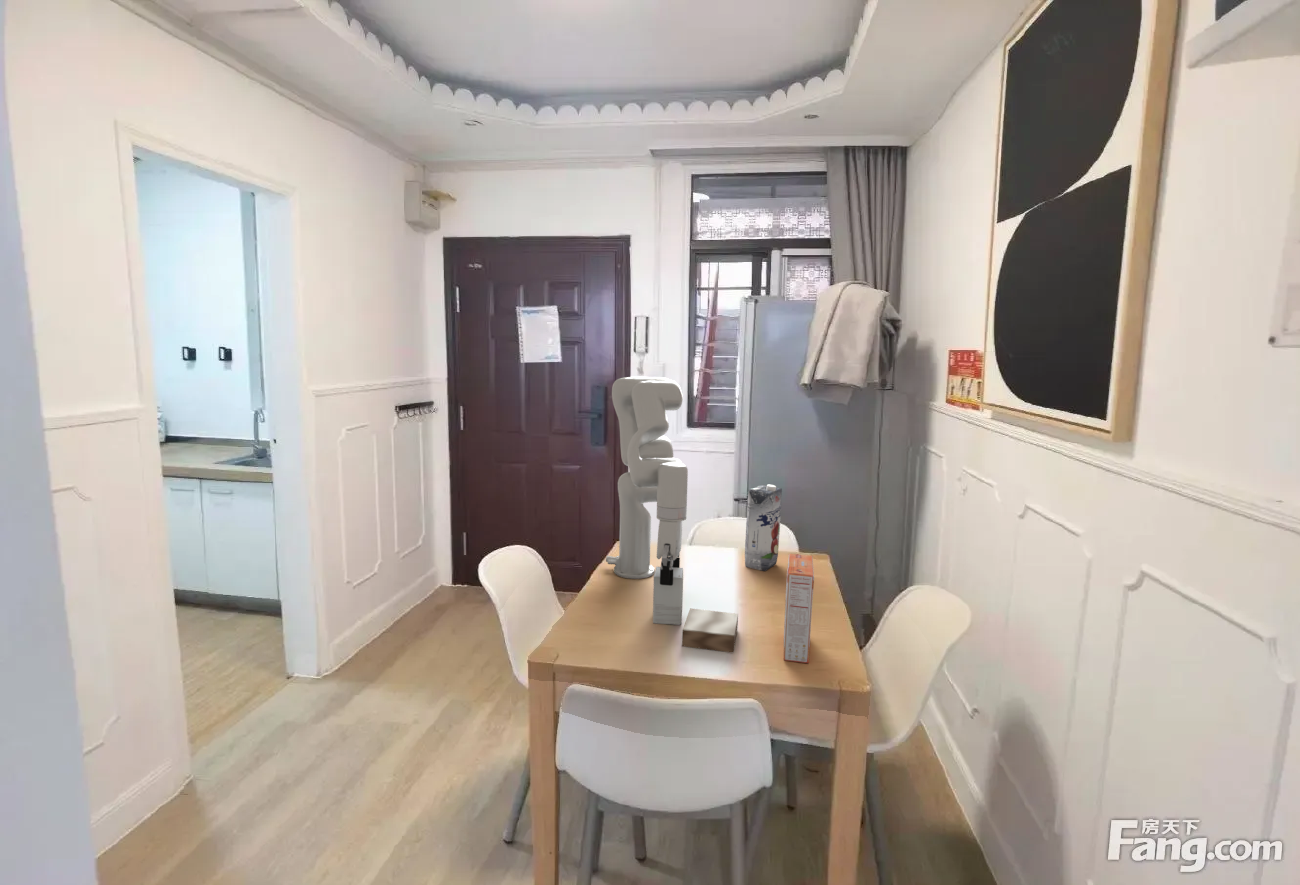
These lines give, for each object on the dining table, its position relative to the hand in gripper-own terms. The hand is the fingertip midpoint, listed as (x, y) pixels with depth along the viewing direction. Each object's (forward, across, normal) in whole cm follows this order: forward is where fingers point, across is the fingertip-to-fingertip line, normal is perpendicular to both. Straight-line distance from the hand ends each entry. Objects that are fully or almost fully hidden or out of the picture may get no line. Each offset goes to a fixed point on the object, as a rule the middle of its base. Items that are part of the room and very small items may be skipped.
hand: (669, 578), depth 158 cm
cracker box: (+12, +7, +32) cm, 34 cm away
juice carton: (+10, -48, +22) cm, 54 cm away
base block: (+11, +7, +12) cm, 18 cm away
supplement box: (+11, -1, 0) cm, 11 cm away
